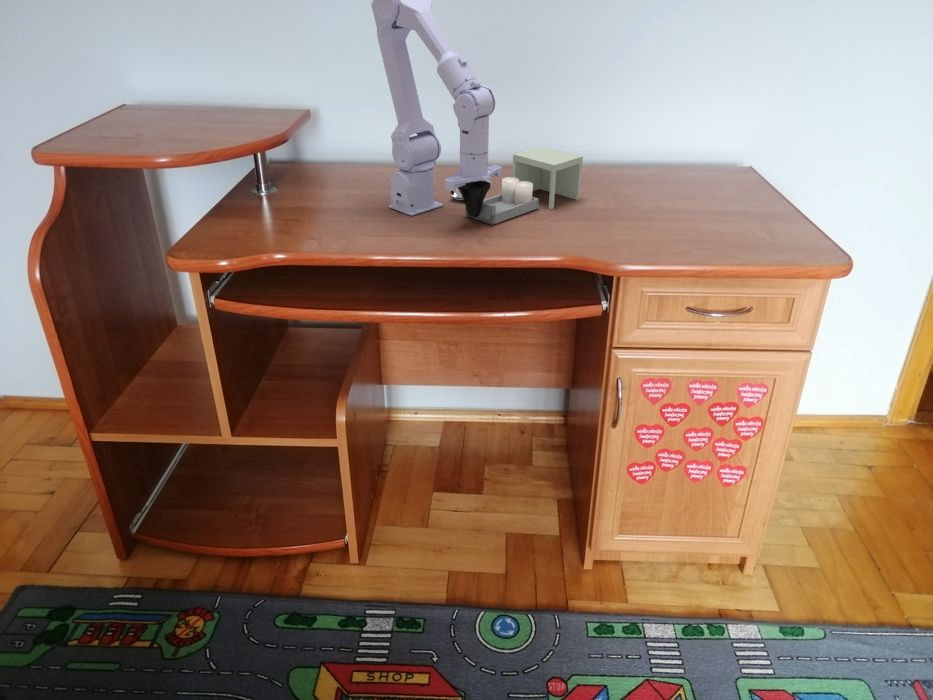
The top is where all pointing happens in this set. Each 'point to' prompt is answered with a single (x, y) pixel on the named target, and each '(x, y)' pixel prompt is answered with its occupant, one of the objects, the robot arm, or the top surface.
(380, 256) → the top surface
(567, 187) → the block
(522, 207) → the tray
